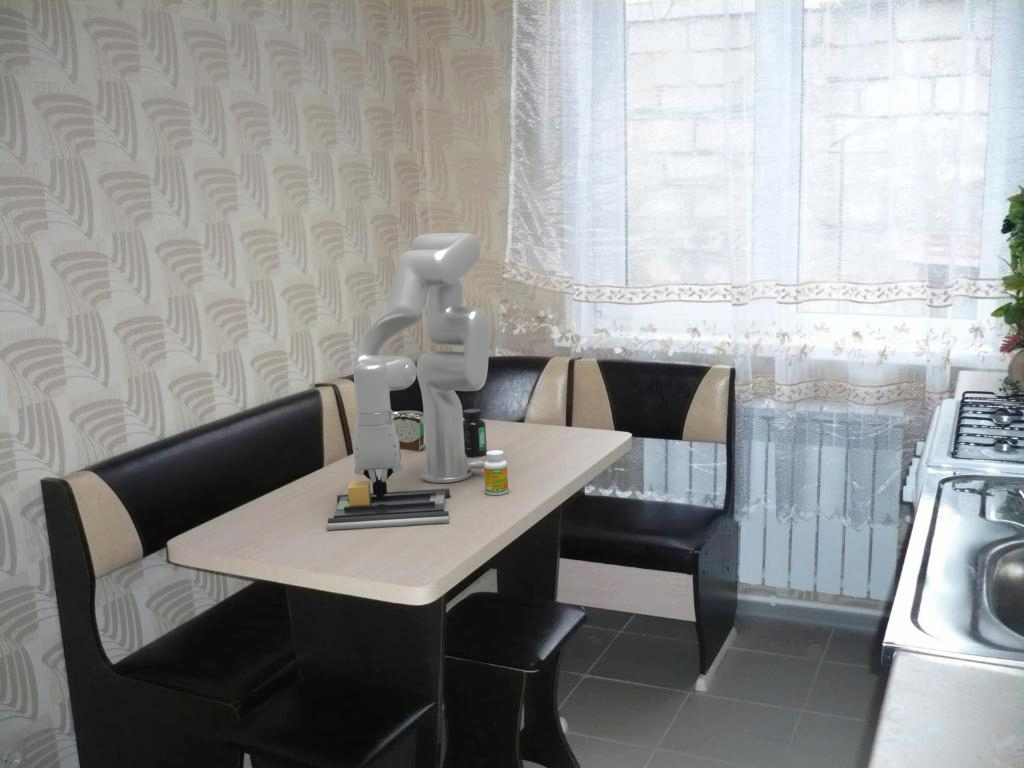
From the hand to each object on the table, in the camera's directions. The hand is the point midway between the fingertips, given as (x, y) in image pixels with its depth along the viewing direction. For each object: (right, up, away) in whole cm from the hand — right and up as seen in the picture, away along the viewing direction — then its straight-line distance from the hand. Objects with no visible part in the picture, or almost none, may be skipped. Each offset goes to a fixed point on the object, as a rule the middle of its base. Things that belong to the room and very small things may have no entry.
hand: (380, 497), depth 237 cm
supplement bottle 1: (+19, +6, +47) cm, 51 cm away
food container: (+2, +7, +57) cm, 57 cm away
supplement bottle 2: (+26, 0, +11) cm, 28 cm away
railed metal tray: (+2, -3, +1) cm, 4 cm away
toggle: (-4, -1, 0) cm, 5 cm away
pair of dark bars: (+2, -3, +1) cm, 4 cm away
